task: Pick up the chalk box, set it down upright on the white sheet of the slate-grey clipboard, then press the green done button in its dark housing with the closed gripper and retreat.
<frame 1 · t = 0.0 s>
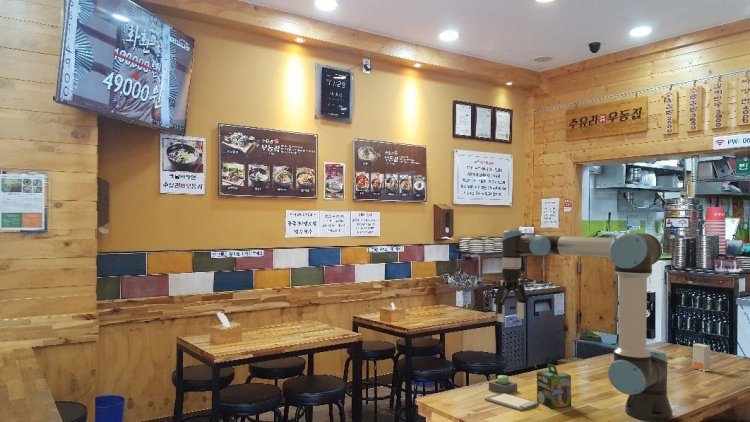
hand: (510, 320, 226), 28 cm above the table, fingers open, 13 cm apart
chalk box: (553, 404, 208), on the table
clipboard: (511, 402, 209), on the table
button housing: (502, 390, 223), on the table
skincare box: (701, 370, 262), on the table
done button: (503, 380, 224), point 4 cm above the table, slide at 0.0 cm
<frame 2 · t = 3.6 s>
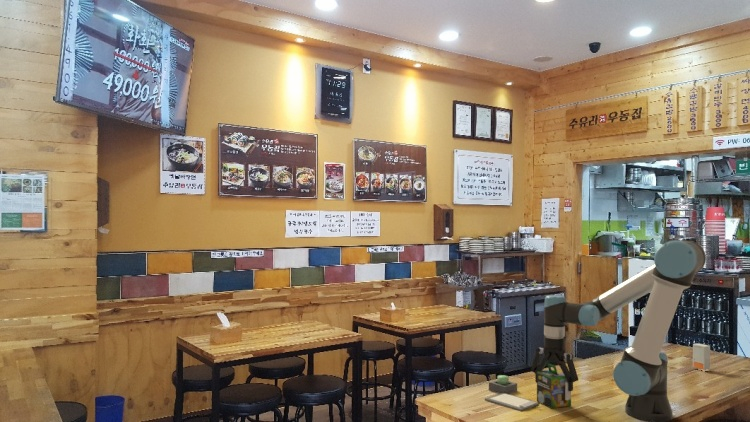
hand: (553, 395, 208), 3 cm above the table, fingers closed on chalk box, 11 cm apart
chalk box: (553, 404, 208), on the table, touching gripper
everything else where it was.
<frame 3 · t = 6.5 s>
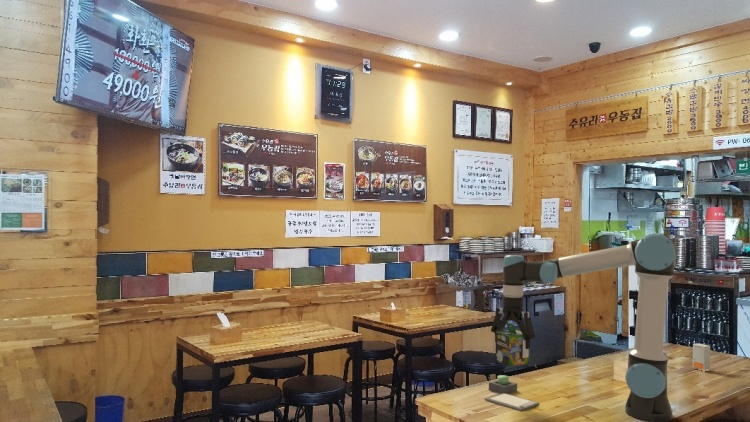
hand: (512, 354, 209), 18 cm above the table, fingers closed on chalk box, 11 cm apart
chalk box: (512, 363, 209), point 15 cm above the table, touching gripper
everything else where it was.
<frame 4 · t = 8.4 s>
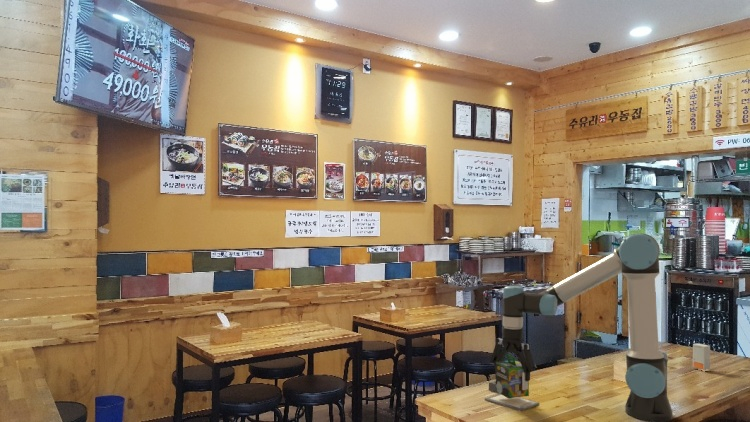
hand: (511, 385, 209), 6 cm above the table, fingers closed on chalk box, 11 cm apart
chalk box: (511, 394, 209), point 3 cm above the table, touching gripper
everything else where it was.
when the fingers open (5 cm above the table, at t = 9.6 s): chalk box drops 1 cm, resting on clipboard.
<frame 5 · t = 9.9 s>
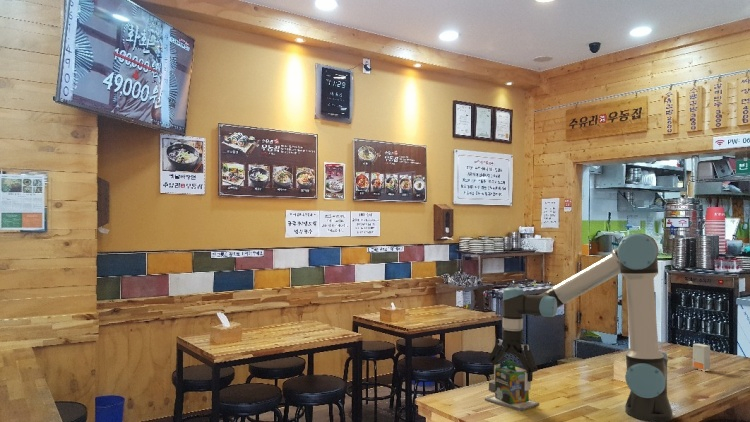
hand: (511, 385, 209), 6 cm above the table, fingers open, 13 cm apart
chalk box: (511, 400, 209), point 1 cm above the table, touching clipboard
everything else where it was.
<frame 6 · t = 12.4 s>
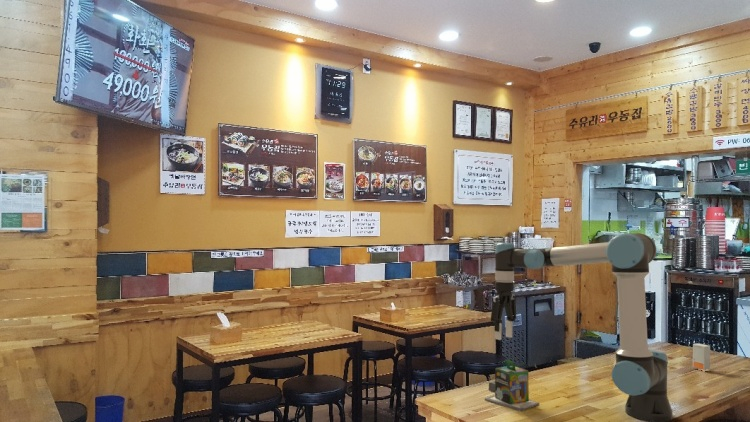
hand: (503, 338, 224), 21 cm above the table, fingers open, 7 cm apart
nothing on the table moved.
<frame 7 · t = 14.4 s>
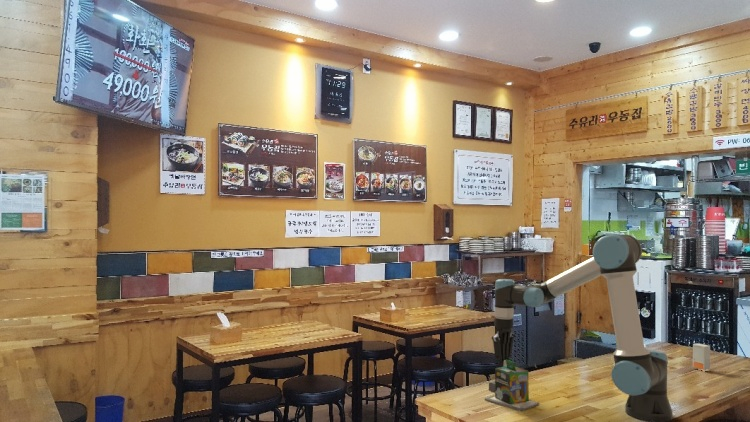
hand: (502, 376, 224), 6 cm above the table, fingers closed
done button: (503, 380, 224), point 4 cm above the table, slide at 0.0 cm, touching gripper
everything else where it was.
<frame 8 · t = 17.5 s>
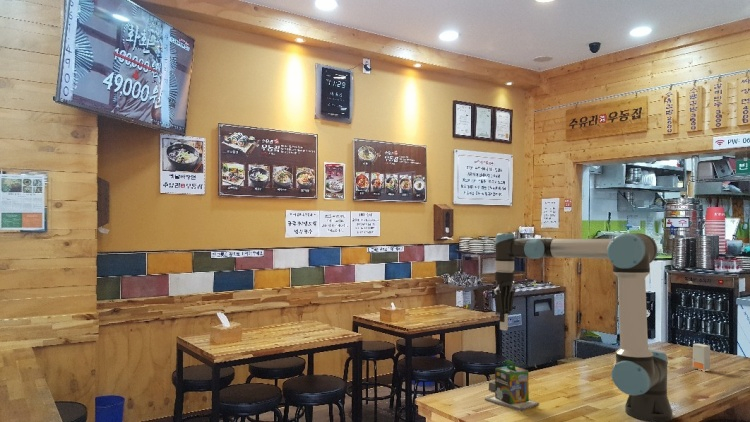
hand: (503, 329, 224), 24 cm above the table, fingers closed
done button: (502, 384, 223), point 2 cm above the table, slide at 1.7 cm
everything else where it was.
at the end: chalk box inside the target area on the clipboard (0.4 cm from its centre), point 0.6 cm above the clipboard's base; chalk box tilted 0°; done button slide at 1.7 cm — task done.
